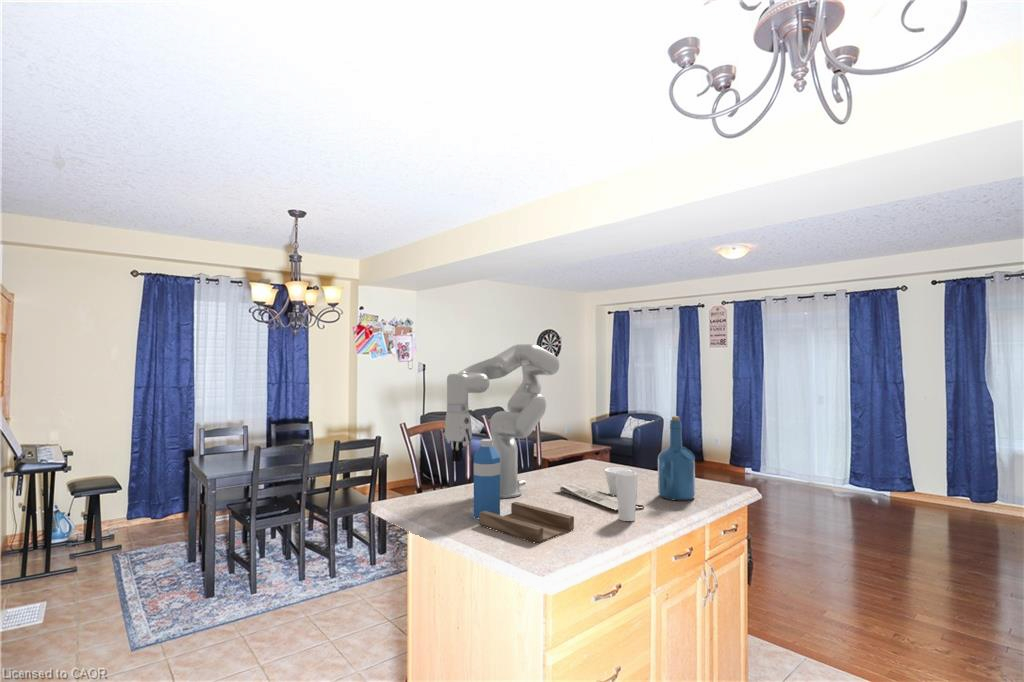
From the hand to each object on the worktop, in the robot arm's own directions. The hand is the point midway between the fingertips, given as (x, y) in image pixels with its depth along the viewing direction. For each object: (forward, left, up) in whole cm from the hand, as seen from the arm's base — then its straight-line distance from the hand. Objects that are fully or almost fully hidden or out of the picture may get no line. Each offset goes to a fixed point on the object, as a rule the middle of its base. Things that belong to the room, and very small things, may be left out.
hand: (457, 460), depth 184 cm
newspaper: (-41, +30, -17) cm, 54 cm away
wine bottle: (-65, +50, -16) cm, 84 cm away
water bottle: (0, +15, -16) cm, 22 cm away
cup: (-53, +32, -16) cm, 64 cm away
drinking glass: (-28, +51, -16) cm, 60 cm away
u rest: (0, +32, -16) cm, 36 cm away
